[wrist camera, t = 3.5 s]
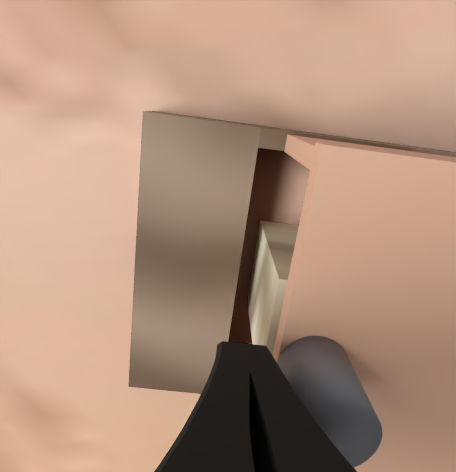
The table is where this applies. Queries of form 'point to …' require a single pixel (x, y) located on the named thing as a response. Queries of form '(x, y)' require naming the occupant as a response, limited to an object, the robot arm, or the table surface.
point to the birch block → (269, 280)
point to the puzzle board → (194, 240)
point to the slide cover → (375, 304)
